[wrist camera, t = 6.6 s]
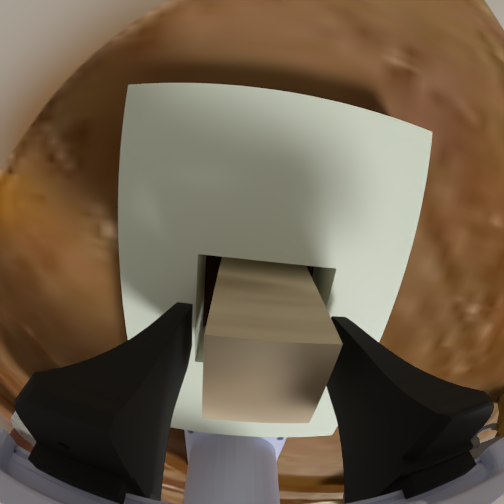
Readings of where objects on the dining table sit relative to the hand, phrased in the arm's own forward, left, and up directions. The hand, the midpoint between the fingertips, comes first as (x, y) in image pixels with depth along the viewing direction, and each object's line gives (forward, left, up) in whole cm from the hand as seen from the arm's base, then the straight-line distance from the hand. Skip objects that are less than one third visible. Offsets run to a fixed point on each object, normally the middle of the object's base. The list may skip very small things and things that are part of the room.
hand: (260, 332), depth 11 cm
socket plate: (0, 0, -4) cm, 4 cm away
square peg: (0, 0, -4) cm, 4 cm away
